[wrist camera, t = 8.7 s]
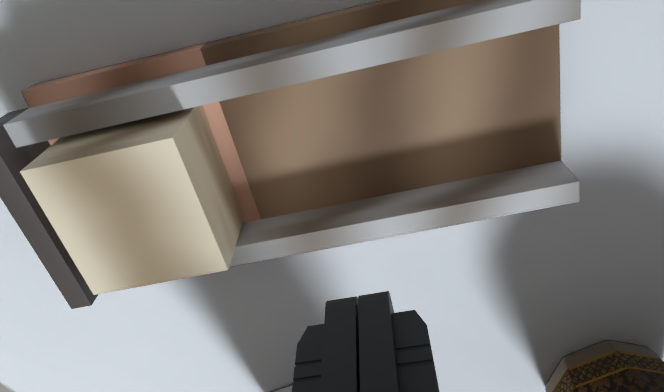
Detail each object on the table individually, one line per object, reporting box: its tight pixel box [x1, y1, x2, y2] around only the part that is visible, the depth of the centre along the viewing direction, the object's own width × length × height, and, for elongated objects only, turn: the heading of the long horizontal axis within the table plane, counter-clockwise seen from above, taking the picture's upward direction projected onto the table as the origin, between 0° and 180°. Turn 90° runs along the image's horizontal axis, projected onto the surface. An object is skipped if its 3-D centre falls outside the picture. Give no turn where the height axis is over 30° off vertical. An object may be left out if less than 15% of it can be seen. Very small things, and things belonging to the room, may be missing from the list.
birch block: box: [20, 105, 244, 295], centre depth 21 cm, size 6×6×4 cm
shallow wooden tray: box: [0, 0, 581, 309], centre depth 22 cm, size 23×10×4 cm, turn 103°
